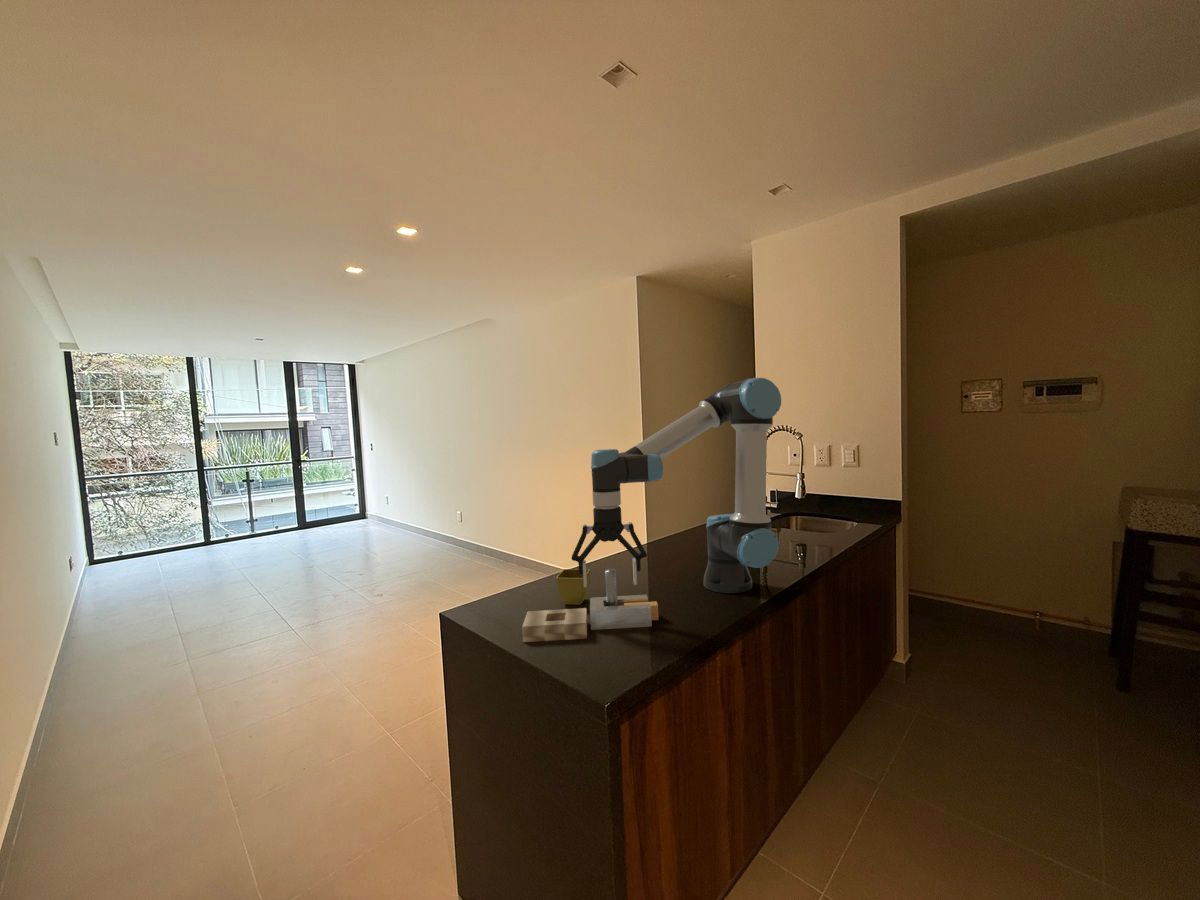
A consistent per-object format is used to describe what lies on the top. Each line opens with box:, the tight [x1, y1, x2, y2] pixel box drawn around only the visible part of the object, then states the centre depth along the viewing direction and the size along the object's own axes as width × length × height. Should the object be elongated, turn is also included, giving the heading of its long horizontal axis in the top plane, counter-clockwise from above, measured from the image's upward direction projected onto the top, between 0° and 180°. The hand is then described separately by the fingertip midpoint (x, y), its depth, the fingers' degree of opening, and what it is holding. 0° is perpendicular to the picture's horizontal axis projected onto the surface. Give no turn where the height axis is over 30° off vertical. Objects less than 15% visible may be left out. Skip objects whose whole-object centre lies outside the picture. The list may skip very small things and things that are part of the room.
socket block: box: [589, 594, 653, 631], centre depth 129 cm, size 16×10×5 cm, turn 91°
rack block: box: [521, 607, 588, 643], centre depth 124 cm, size 16×10×4 cm, turn 91°
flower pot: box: [555, 568, 591, 606], centre depth 145 cm, size 9×9×9 cm
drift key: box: [624, 600, 660, 621], centre depth 129 cm, size 9×3×4 cm, turn 91°
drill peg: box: [604, 568, 618, 606], centre depth 129 cm, size 3×3×14 cm
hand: (610, 584), depth 129 cm, fingers open, 13 cm apart
